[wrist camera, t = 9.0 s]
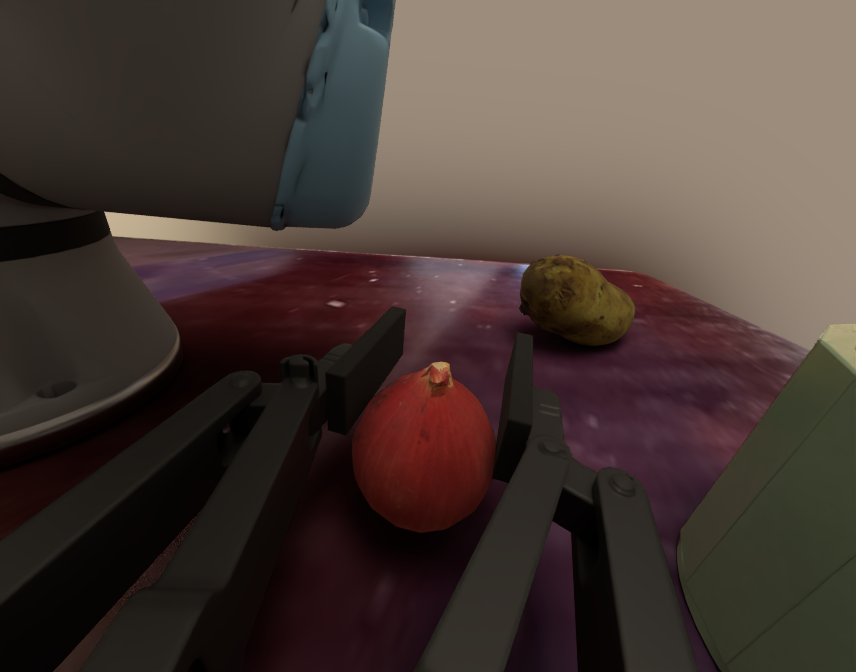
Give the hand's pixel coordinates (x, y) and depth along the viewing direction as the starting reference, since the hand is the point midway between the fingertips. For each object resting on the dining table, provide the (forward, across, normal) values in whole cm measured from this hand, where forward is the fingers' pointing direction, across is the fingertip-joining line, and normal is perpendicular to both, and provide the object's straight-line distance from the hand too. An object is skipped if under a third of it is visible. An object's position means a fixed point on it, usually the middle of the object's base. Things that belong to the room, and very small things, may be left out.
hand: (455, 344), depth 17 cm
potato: (+17, +9, -6) cm, 20 cm away
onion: (-5, 0, -6) cm, 8 cm away
